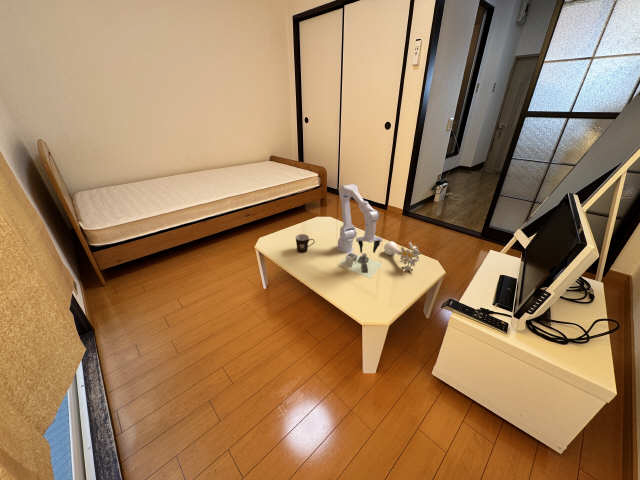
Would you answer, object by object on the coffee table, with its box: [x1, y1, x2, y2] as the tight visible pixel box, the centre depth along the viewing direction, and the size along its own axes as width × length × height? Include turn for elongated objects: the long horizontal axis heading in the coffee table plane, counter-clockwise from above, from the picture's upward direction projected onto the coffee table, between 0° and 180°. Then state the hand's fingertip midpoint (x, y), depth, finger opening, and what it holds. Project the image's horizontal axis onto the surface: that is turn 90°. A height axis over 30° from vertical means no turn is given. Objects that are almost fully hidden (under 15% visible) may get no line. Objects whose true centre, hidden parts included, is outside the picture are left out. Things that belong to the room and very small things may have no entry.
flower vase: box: [383, 240, 421, 271], centre depth 153 cm, size 13×18×25 cm
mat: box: [337, 251, 383, 279], centre depth 151 cm, size 22×18×1 cm
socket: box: [345, 252, 358, 267], centre depth 150 cm, size 5×5×6 cm
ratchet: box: [359, 252, 370, 273], centre depth 149 cm, size 16×6×4 cm, turn 176°
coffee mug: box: [295, 233, 315, 254], centre depth 160 cm, size 12×9×10 cm
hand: (367, 252), depth 145 cm, fingers open, 7 cm apart
